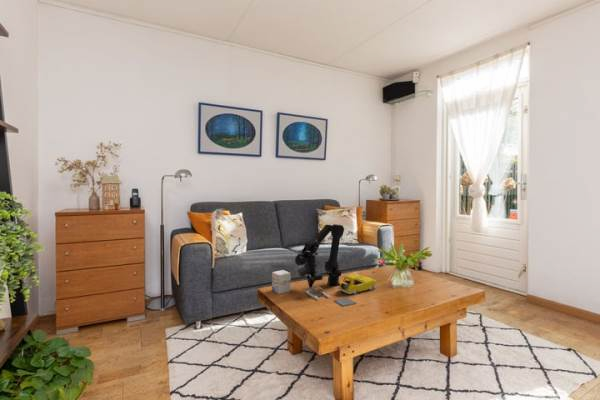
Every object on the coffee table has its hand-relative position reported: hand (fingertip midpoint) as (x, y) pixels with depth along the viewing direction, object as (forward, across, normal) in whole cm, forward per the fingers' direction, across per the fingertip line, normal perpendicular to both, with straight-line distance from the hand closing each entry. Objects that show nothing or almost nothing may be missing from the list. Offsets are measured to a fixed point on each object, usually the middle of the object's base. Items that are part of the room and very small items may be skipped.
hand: (310, 287), depth 196 cm
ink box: (+2, -8, -16) cm, 18 cm away
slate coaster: (+2, +25, +8) cm, 26 cm away
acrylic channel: (+2, +8, 0) cm, 8 cm away
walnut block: (+2, +8, 0) cm, 8 cm away
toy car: (+2, +12, +27) cm, 29 cm away
